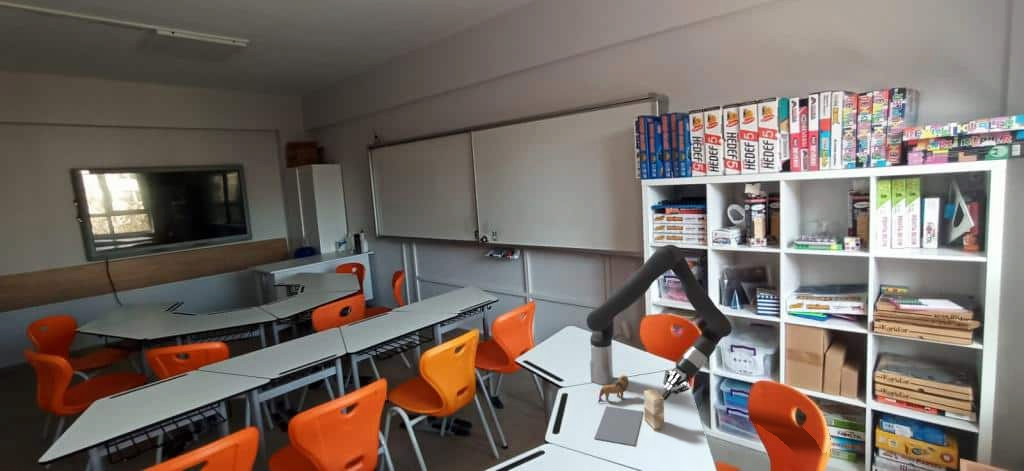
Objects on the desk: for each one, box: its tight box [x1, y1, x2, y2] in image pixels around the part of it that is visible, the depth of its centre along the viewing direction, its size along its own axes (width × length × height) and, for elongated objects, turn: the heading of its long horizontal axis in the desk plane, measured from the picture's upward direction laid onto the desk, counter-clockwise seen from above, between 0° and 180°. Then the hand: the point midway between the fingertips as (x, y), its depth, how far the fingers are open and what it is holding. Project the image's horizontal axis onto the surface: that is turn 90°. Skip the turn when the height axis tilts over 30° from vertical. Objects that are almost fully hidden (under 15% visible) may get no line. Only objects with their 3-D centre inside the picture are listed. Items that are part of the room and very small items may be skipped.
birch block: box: [643, 388, 665, 432], centre depth 168 cm, size 4×7×12 cm, turn 12°
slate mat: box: [593, 405, 644, 447], centre depth 170 cm, size 14×22×1 cm, turn 157°
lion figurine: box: [597, 374, 629, 404], centre depth 188 cm, size 15×5×9 cm, turn 112°
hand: (661, 398), depth 169 cm, fingers closed
